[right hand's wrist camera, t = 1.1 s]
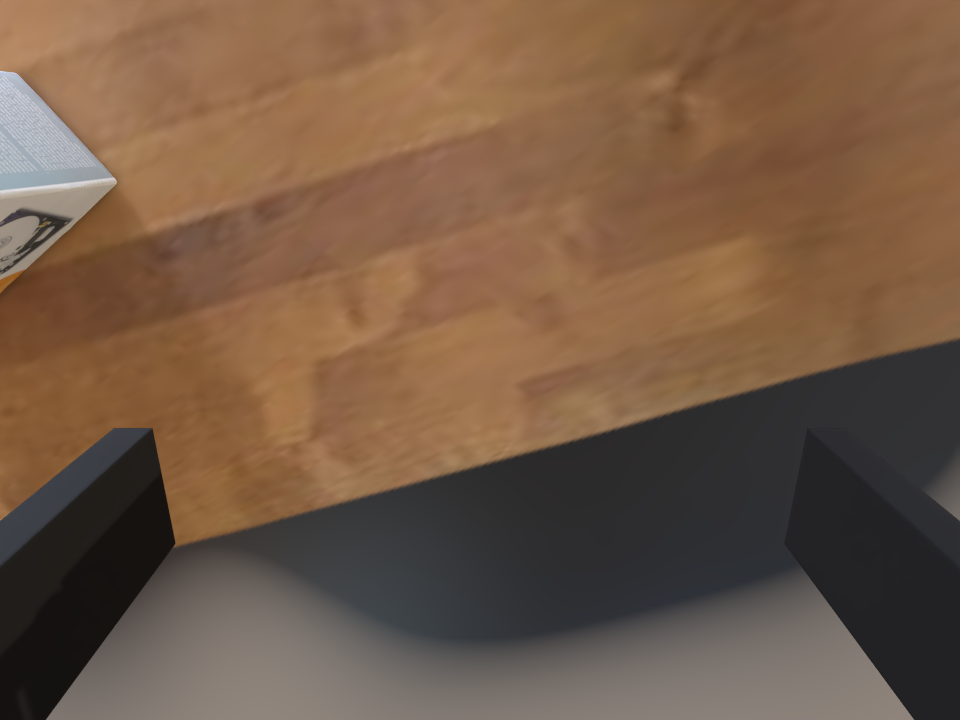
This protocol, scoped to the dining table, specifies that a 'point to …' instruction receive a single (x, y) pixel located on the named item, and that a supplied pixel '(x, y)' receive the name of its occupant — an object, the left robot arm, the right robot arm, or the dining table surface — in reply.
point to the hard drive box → (39, 178)
